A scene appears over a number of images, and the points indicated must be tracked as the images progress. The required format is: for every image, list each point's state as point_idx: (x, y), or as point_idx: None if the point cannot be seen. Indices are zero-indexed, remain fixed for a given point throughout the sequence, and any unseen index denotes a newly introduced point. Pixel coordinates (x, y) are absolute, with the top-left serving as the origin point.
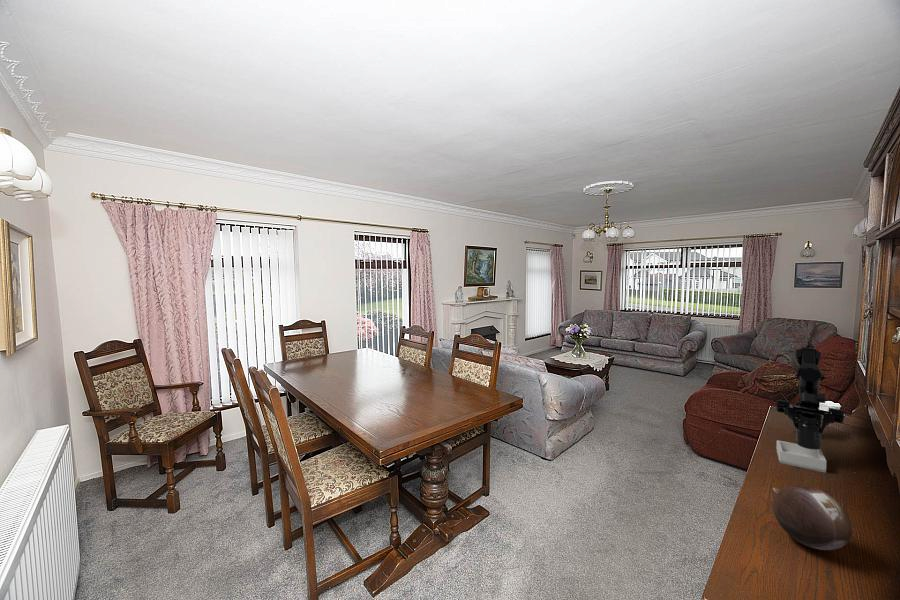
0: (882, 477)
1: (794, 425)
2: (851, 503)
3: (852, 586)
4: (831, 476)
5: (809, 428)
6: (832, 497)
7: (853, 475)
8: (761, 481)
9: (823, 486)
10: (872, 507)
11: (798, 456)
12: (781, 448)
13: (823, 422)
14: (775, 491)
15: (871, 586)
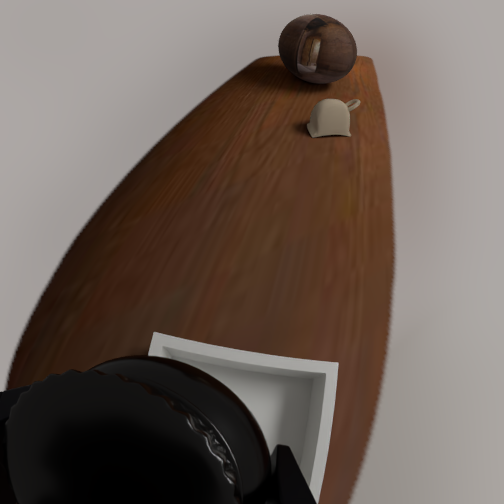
0: (15, 370)
1: (293, 456)
2: (199, 167)
3: None
4: (162, 320)
5: (177, 361)
6: (299, 19)
7: (82, 360)
8: (376, 196)
9: (227, 227)
10: (161, 168)
11: (261, 356)
12: (322, 415)
13: (1, 409)
14: (355, 100)
15: (272, 58)
